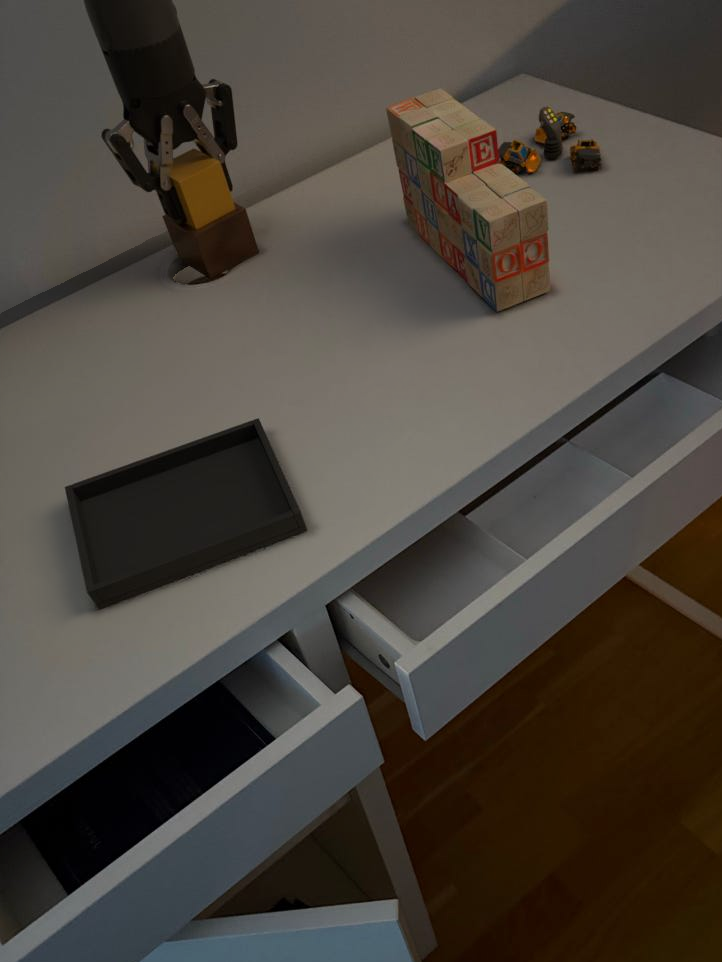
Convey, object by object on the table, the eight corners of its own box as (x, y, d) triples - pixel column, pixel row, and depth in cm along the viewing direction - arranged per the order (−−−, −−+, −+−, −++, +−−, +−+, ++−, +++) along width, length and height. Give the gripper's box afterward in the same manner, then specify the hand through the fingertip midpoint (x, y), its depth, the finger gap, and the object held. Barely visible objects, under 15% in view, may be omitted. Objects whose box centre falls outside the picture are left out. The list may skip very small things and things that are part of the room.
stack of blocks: (553, 292, 91) (546, 165, 82) (496, 314, 90) (483, 189, 80) (456, 203, 104) (440, 84, 94) (406, 222, 103) (384, 104, 93)
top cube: (196, 229, 97) (178, 182, 93) (171, 215, 99) (153, 167, 95) (235, 209, 98) (220, 161, 94) (210, 195, 101) (194, 148, 97)
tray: (98, 609, 72) (86, 592, 71) (75, 504, 80) (64, 486, 79) (307, 530, 75) (300, 512, 73) (265, 436, 83) (258, 417, 81)
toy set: (557, 197, 102) (555, 152, 98) (486, 167, 108) (482, 124, 104) (631, 152, 106) (632, 108, 103) (559, 126, 112) (558, 83, 108)
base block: (210, 279, 100) (194, 235, 96) (179, 259, 103) (161, 216, 99) (259, 252, 102) (245, 208, 98) (227, 233, 105) (212, 190, 101)
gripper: (182, -7, 89) (238, 171, 103) (49, 49, 84) (126, 228, 98) (224, 8, 86) (277, 191, 99) (88, 67, 81) (163, 251, 94)
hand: (202, 208), depth 98 cm, fingers closed on top cube, 5 cm apart
